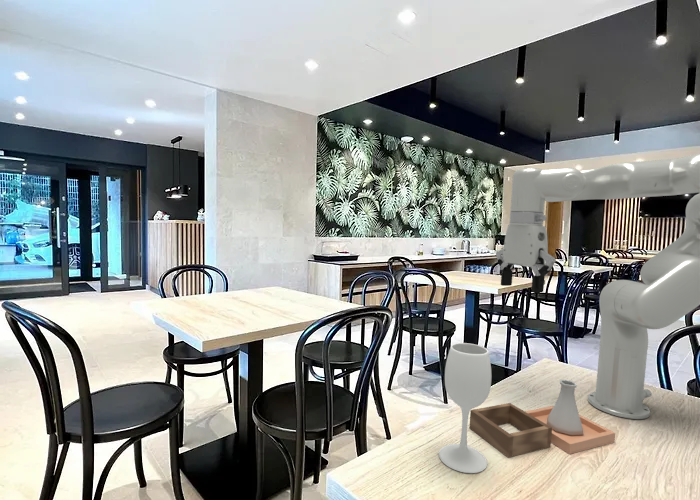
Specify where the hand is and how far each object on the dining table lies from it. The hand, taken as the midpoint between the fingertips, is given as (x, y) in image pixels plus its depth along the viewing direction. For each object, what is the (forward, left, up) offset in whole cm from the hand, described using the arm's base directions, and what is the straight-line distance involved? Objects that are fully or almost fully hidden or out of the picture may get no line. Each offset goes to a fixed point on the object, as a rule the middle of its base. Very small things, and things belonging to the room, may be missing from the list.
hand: (521, 288), depth 96 cm
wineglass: (+29, +17, -29) cm, 44 cm away
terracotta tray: (+1, +16, -28) cm, 32 cm away
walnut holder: (+15, +14, -28) cm, 35 cm away
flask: (+1, +16, -28) cm, 32 cm away
